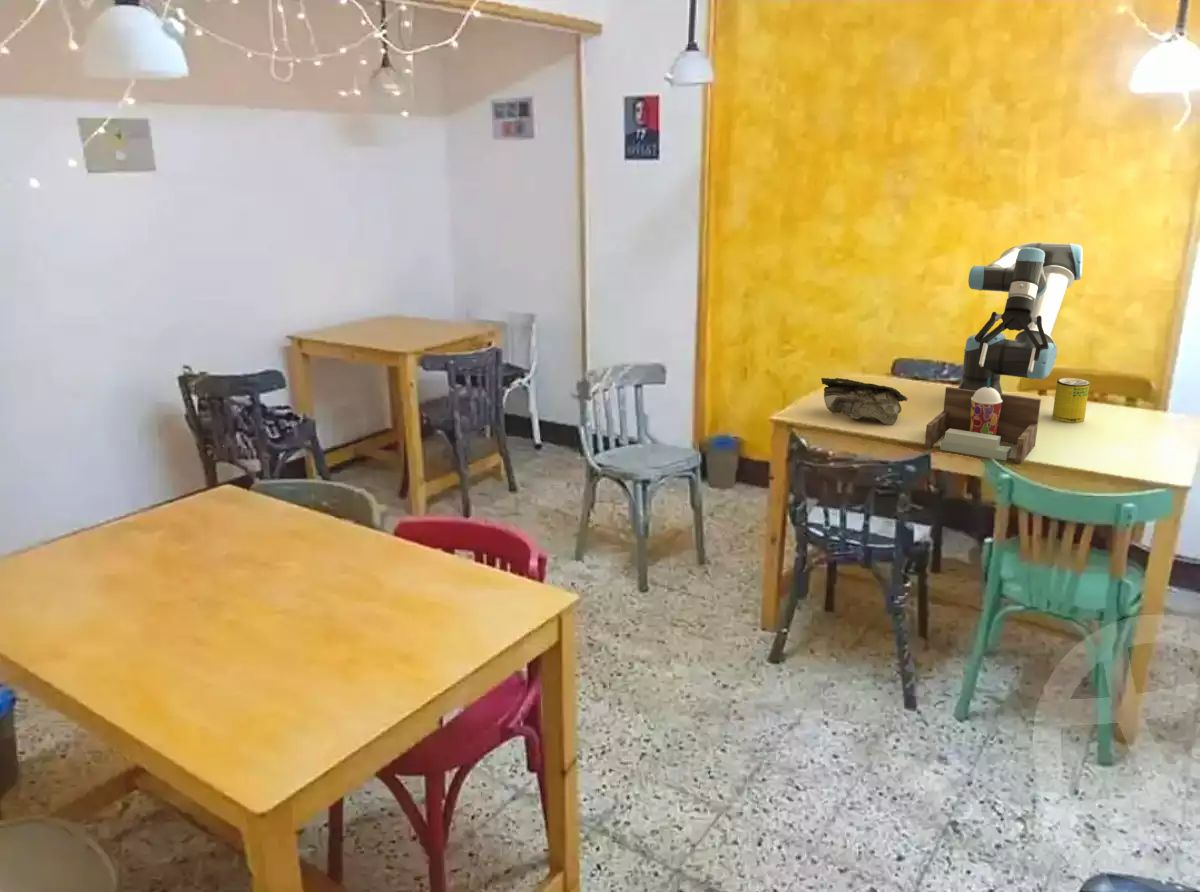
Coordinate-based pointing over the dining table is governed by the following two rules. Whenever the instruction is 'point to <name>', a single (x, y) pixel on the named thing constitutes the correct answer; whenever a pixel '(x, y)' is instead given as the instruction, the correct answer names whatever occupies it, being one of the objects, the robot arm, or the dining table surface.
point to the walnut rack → (1012, 426)
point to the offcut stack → (974, 444)
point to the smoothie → (985, 410)
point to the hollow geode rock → (862, 399)
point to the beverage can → (1070, 400)
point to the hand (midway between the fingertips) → (1005, 368)
